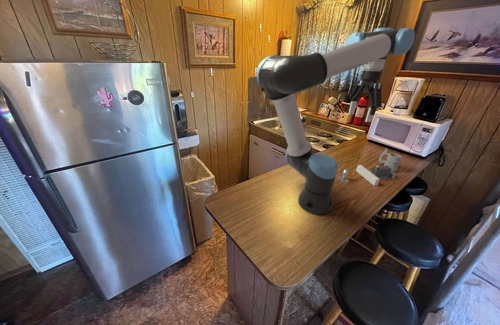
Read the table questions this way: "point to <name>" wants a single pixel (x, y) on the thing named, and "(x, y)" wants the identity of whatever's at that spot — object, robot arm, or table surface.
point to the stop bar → (381, 171)
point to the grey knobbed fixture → (344, 176)
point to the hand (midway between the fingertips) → (359, 117)
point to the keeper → (391, 176)
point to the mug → (391, 160)
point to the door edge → (367, 175)
